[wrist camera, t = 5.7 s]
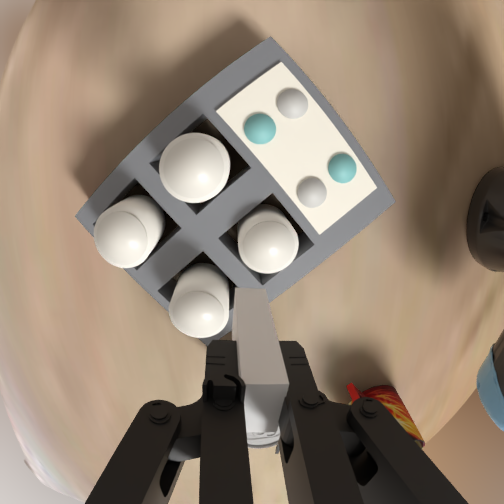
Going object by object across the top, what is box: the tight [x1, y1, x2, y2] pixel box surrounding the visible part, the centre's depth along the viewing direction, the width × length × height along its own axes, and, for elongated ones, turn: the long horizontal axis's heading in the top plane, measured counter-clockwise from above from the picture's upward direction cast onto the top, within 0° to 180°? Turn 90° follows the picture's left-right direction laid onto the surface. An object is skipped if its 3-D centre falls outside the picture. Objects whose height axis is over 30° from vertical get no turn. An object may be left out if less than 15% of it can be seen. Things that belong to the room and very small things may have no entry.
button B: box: [169, 263, 229, 338], centre depth 27 cm, size 5×5×5 cm
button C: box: [159, 133, 230, 203], centre depth 23 cm, size 5×5×5 cm
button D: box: [94, 195, 166, 268], centre depth 25 cm, size 5×5×5 cm
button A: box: [237, 204, 299, 273], centre depth 28 cm, size 5×5×5 cm
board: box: [75, 36, 396, 346], centre depth 28 cm, size 24×19×5 cm
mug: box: [346, 383, 425, 450], centre depth 37 cm, size 10×14×12 cm
